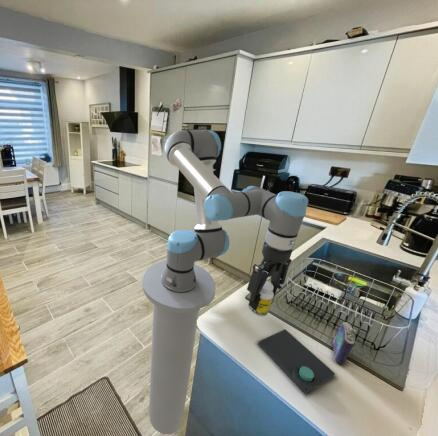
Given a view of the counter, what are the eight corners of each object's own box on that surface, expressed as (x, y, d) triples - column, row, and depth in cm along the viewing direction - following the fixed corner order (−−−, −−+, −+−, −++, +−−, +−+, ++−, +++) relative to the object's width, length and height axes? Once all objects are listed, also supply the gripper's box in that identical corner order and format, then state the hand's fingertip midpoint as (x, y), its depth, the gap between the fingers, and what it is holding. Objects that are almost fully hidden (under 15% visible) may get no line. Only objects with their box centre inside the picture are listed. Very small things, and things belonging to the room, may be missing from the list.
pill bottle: (245, 311, 80) (253, 285, 76) (250, 300, 85) (257, 275, 80) (265, 320, 77) (274, 294, 72) (269, 308, 82) (277, 283, 77)
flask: (332, 339, 79) (344, 316, 74) (343, 344, 77) (356, 320, 73) (333, 362, 71) (347, 337, 67) (346, 368, 70) (360, 343, 66)
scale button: (296, 372, 66) (297, 368, 65) (303, 368, 67) (305, 364, 66) (307, 383, 63) (308, 380, 63) (315, 378, 64) (316, 375, 64)
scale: (256, 344, 76) (258, 338, 75) (284, 332, 81) (286, 325, 80) (305, 397, 63) (309, 390, 61) (335, 378, 67) (339, 371, 66)
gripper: (264, 258, 63) (246, 321, 73) (312, 244, 70) (290, 303, 80) (243, 244, 69) (229, 304, 79) (290, 233, 76) (271, 289, 86)
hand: (260, 304), depth 80 cm, fingers closed on pill bottle, 6 cm apart
